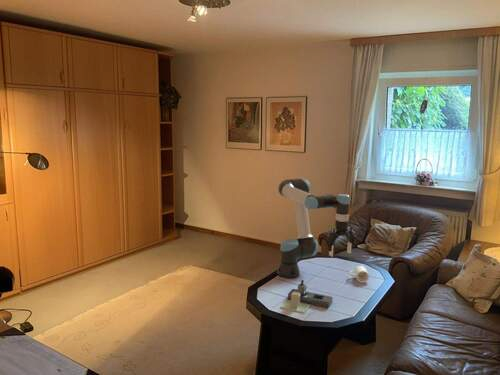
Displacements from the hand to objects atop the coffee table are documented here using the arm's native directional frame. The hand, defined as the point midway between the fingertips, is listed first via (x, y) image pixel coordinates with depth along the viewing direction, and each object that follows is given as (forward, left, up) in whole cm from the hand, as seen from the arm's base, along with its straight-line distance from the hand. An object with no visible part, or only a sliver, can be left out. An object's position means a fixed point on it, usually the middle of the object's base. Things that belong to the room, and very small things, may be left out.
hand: (340, 254), depth 245 cm
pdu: (-11, -22, -24) cm, 34 cm away
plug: (-16, -33, -23) cm, 43 cm away
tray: (-16, -33, -24) cm, 44 cm away
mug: (+7, +25, -24) cm, 35 cm away
